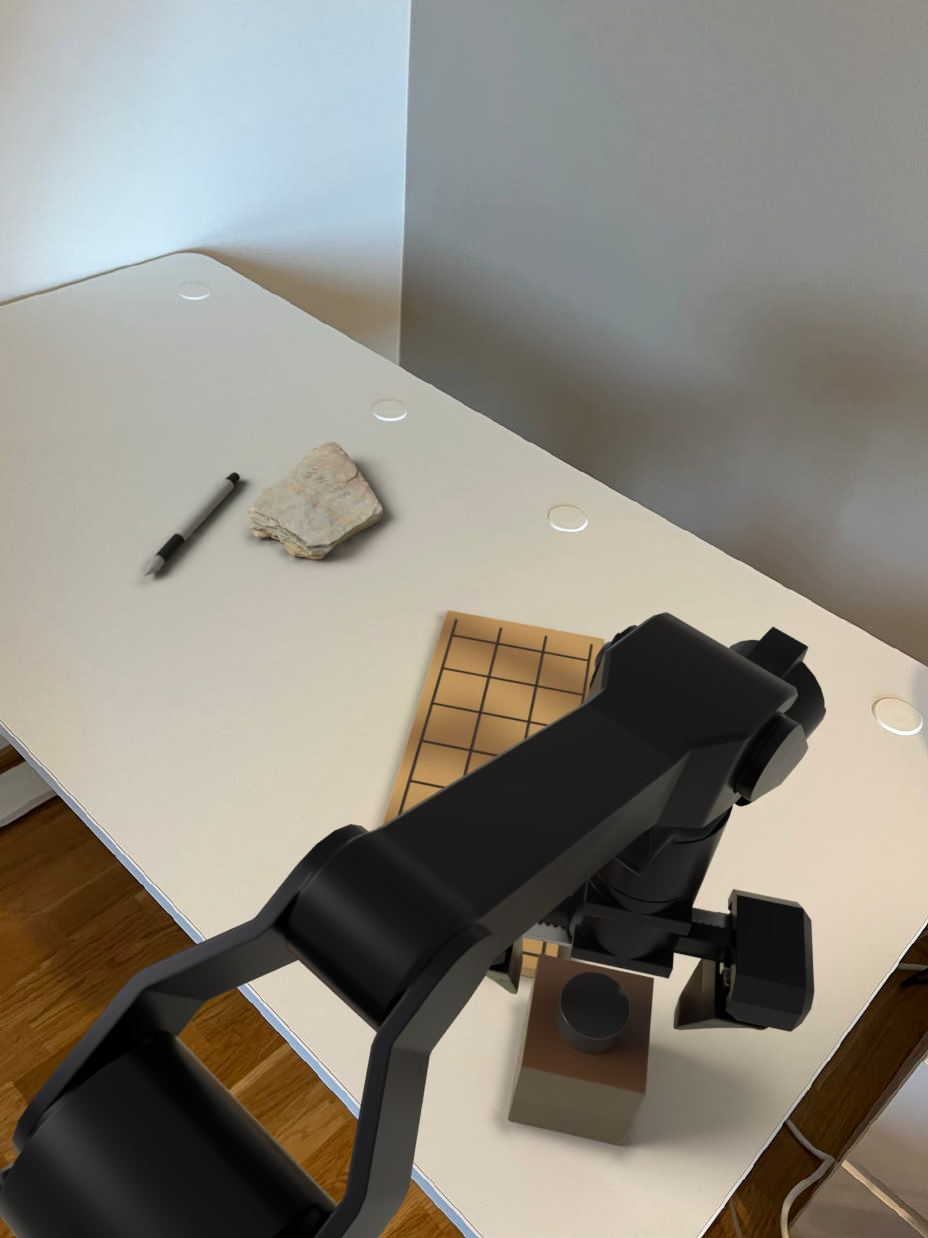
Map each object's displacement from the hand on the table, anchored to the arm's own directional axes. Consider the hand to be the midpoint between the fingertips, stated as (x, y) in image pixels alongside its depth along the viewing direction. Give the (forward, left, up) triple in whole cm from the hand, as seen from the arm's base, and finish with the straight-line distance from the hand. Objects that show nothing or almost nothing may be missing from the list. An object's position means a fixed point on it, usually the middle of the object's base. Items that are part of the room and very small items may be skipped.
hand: (595, 1003), depth 60 cm
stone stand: (0, 0, -10) cm, 10 cm away
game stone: (0, 0, -2) cm, 2 cm away
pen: (+44, +42, -10) cm, 62 cm away
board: (+22, +9, -10) cm, 26 cm away
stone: (+49, +32, -10) cm, 59 cm away
